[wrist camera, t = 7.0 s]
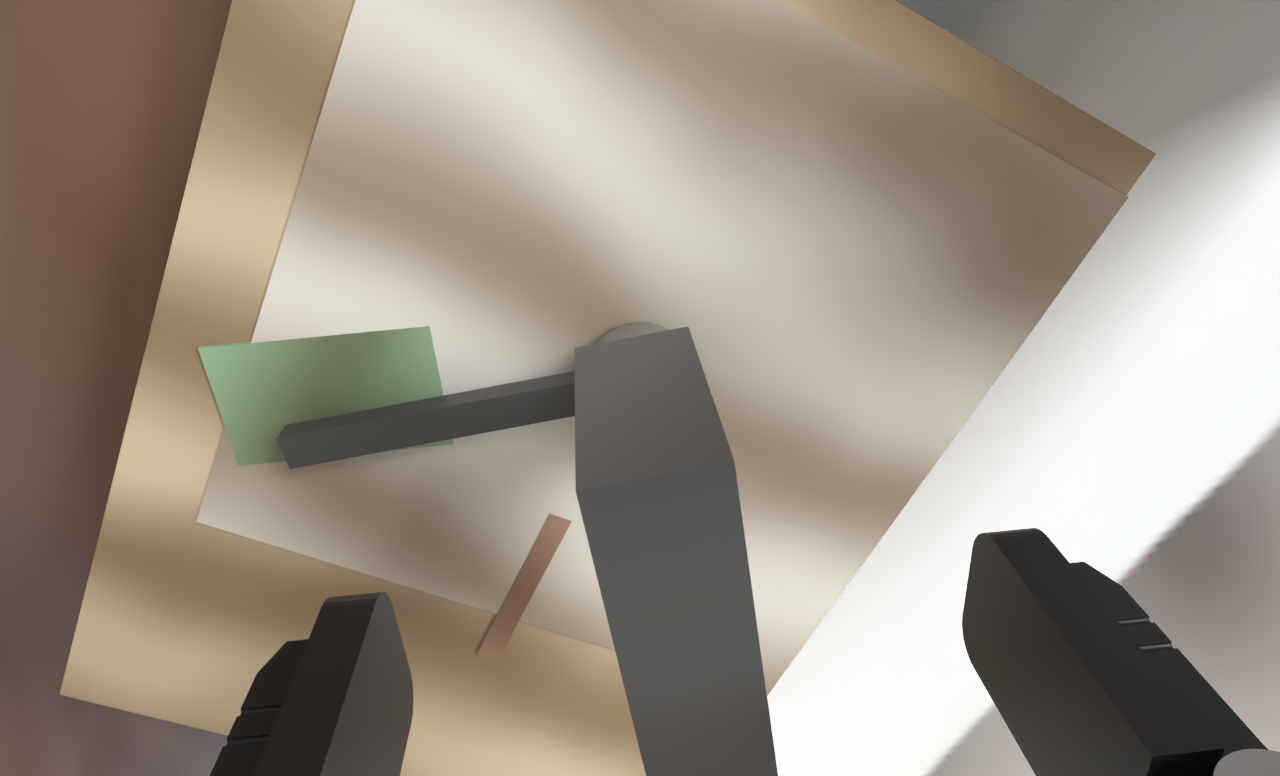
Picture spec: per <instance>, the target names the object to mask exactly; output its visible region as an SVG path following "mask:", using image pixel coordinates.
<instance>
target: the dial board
mask: <svg viewBox="0 0 1280 776" xmlns="http://www.w3.org/2000/svg"><path fill="white" fill-rule="evenodd" d="M1155 155H1156V154H1155V153H1153V152H1152V151H1150V150H1148V149H1147V148H1145V147H1143V146H1142V145H1140V144H1138V143H1136V142H1135V141H1133V140H1131V139H1130V138H1128V137H1126V136H1125V135H1123V134H1121V133H1120V132H1118V131H1116V130H1114V129H1113V128H1111V127H1109V126H1108V125H1106V124H1104V123H1103V122H1101V121H1099V120H1097V119H1096V118H1094V117H1092V116H1091V115H1089V114H1087V113H1086V112H1084V111H1082V110H1080V109H1079V108H1077V107H1075V106H1074V105H1072V104H1070V103H1069V102H1067V101H1065V100H1064V99H1062V98H1060V97H1058V96H1057V95H1055V94H1053V93H1052V92H1050V91H1048V90H1047V89H1045V88H1043V87H1041V86H1040V85H1038V84H1036V83H1035V82H1033V81H1031V80H1030V79H1028V78H1026V77H1025V76H1023V75H1021V74H1019V73H1018V72H1016V71H1014V70H1013V69H1011V68H1009V67H1008V66H1006V65H1004V64H1002V63H1001V62H999V61H997V60H996V59H994V58H992V57H991V56H989V55H987V54H985V53H984V52H982V51H980V50H979V49H977V48H975V47H974V46H972V45H970V44H969V43H967V42H965V41H963V40H962V39H960V38H958V37H957V36H955V35H953V34H952V33H950V32H948V31H946V30H945V29H943V28H941V27H940V26H938V25H936V24H935V23H933V22H931V21H929V20H928V19H926V18H924V17H923V16H921V15H919V14H918V13H916V12H914V11H913V10H911V9H909V8H907V7H906V6H904V5H902V4H901V3H899V2H897V1H896V0H232V3H231V7H230V11H229V15H228V19H227V23H226V27H225V31H224V36H223V40H222V44H221V48H220V52H219V56H218V60H217V64H216V68H215V72H214V76H213V80H212V84H211V88H210V92H209V96H208V100H207V104H206V108H205V112H204V116H203V120H202V124H201V128H200V132H199V136H198V140H197V144H196V148H195V152H194V156H193V160H192V164H191V168H190V172H189V176H188V180H187V184H186V188H185V192H184V196H183V200H182V204H181V208H180V212H179V216H178V220H177V224H176V228H175V232H174V236H173V240H172V245H171V249H170V253H169V257H168V261H167V265H166V269H165V273H164V277H163V281H162V285H161V289H160V293H159V297H158V301H157V305H156V309H155V313H154V317H153V321H152V325H151V329H150V333H149V337H148V341H147V345H146V349H145V353H144V357H143V361H142V365H141V369H140V373H139V377H138V381H137V385H136V389H135V393H134V397H133V401H132V405H131V409H130V413H129V417H128V421H127V425H126V429H125V433H124V437H123V441H122V445H121V449H120V454H119V458H118V462H117V466H116V470H115V474H114V478H113V482H112V486H111V490H110V494H109V498H108V502H107V506H106V510H105V514H104V518H103V522H102V526H101V530H100V534H99V538H98V542H97V546H96V550H95V554H94V558H93V562H92V566H91V570H90V574H89V578H88V582H87V586H86V590H85V594H84V598H83V602H82V606H81V610H80V614H79V618H78V622H77V626H76V630H75V634H74V638H73V642H72V646H71V650H70V654H69V658H68V663H67V667H66V671H65V675H64V679H63V683H62V687H61V691H60V695H63V696H67V697H71V698H75V699H79V700H84V701H88V702H92V703H96V704H100V705H104V706H108V707H112V708H116V709H120V710H125V711H129V712H133V713H137V714H141V715H145V716H149V717H153V718H157V719H161V720H165V721H170V722H174V723H178V724H182V725H186V726H190V727H194V728H198V729H202V730H206V731H210V732H215V733H219V734H223V735H227V736H228V735H229V733H230V731H231V729H232V726H233V724H234V722H235V720H236V718H237V716H240V715H241V707H242V705H243V702H244V700H245V698H246V696H247V694H248V692H249V689H250V687H251V685H252V683H253V681H254V678H255V676H256V674H257V673H258V672H259V671H260V669H261V668H262V667H263V666H264V665H265V664H266V663H267V662H268V661H269V660H270V659H271V658H272V657H273V656H274V655H275V653H276V652H277V651H278V650H279V649H280V648H281V647H282V646H283V645H284V644H285V643H286V642H287V641H295V640H305V639H309V636H310V634H311V631H312V629H313V626H314V624H315V621H316V619H317V617H318V614H319V612H320V609H321V607H322V605H323V603H324V601H325V600H326V599H327V598H329V597H337V596H347V595H357V594H367V593H377V592H386V593H387V594H388V596H389V597H390V599H391V602H392V605H393V609H394V612H395V616H396V620H397V623H398V627H399V631H400V634H401V638H402V642H403V645H404V649H405V653H406V656H407V660H408V664H409V667H410V671H411V675H412V682H413V699H414V701H413V716H412V722H411V727H410V731H409V736H408V740H407V745H406V750H405V754H404V759H403V763H402V768H401V772H400V776H646V773H645V769H644V765H643V761H642V757H641V753H640V749H639V745H638V741H637V737H636V733H635V729H634V725H633V721H632V717H631V713H630V709H629V705H628V701H627V697H626V693H625V688H624V684H623V680H622V676H621V672H620V668H619V664H618V660H617V656H616V652H615V648H614V644H613V640H612V636H611V632H610V628H609V624H608V620H607V616H606V612H605V608H604V604H603V600H602V596H601V592H600V587H599V583H598V579H597V575H596V571H595V567H594V563H593V559H592V555H591V551H590V547H589V543H588V539H587V535H586V531H585V527H584V523H583V519H582V515H581V511H580V507H579V503H578V499H577V495H576V478H575V416H573V417H567V418H562V419H556V420H551V421H546V422H540V423H535V424H530V425H524V426H519V427H514V428H508V429H503V430H498V431H492V432H487V433H481V434H476V435H471V436H465V437H460V438H455V439H449V440H444V441H439V442H433V443H428V444H422V445H417V446H412V447H406V448H401V449H396V450H390V451H385V452H380V453H374V454H369V455H363V456H358V457H353V458H347V459H342V460H337V461H331V462H326V463H321V464H315V465H310V466H304V467H299V468H294V469H289V466H288V464H287V462H286V459H285V457H284V455H283V452H282V450H281V448H280V446H279V443H278V441H277V439H276V438H277V437H278V435H279V434H280V432H281V431H282V429H283V428H284V426H285V425H288V424H294V423H299V422H305V421H310V420H315V419H321V418H326V417H331V416H337V415H342V414H347V413H353V412H358V411H363V410H369V409H374V408H379V407H385V406H390V405H395V404H401V403H406V402H412V401H417V400H422V399H428V398H433V397H438V396H444V395H449V394H454V393H460V392H465V391H470V390H476V389H481V388H486V387H492V386H497V385H502V384H508V383H513V382H518V381H524V380H529V379H535V378H540V377H545V376H551V375H556V374H561V373H567V372H572V371H575V360H574V348H576V347H581V346H586V345H592V344H597V342H598V341H599V340H600V339H601V338H602V337H603V336H604V335H605V334H607V333H608V332H610V331H611V330H613V329H615V328H617V327H619V326H622V325H625V324H629V323H636V322H647V323H653V324H657V325H660V326H663V327H665V328H667V329H669V330H672V329H677V328H683V327H689V330H690V333H691V336H692V339H693V342H694V345H695V348H696V351H697V353H698V356H699V359H700V362H701V365H702V368H703V371H704V374H705V377H706V380H707V383H708V386H709V388H710V391H711V394H712V397H713V400H714V403H715V406H716V409H717V412H718V415H719V418H720V421H721V424H722V426H723V429H724V432H725V435H726V438H727V441H728V444H729V447H730V450H731V453H732V456H733V459H734V462H735V469H736V476H737V483H738V491H739V498H740V505H741V512H742V520H743V527H744V534H745V541H746V549H747V556H748V563H749V571H750V578H751V585H752V592H753V600H754V607H755V614H756V621H757V629H758V636H759V643H760V651H761V658H762V665H763V672H764V680H765V687H766V694H767V695H768V694H769V693H770V691H771V690H772V688H773V687H774V686H775V684H776V683H777V681H778V680H779V679H780V677H781V676H782V675H783V673H784V672H785V670H786V669H787V668H788V666H789V665H790V664H791V662H792V661H793V659H794V658H795V657H796V655H797V654H798V652H799V651H800V650H801V648H802V647H803V646H804V644H805V643H806V641H807V640H808V639H809V637H810V636H811V635H812V633H813V632H814V630H815V629H816V628H817V626H818V625H819V623H820V622H821V621H822V619H823V618H824V617H825V615H826V614H827V612H828V611H829V610H830V608H831V607H832V606H833V604H834V603H835V601H836V600H837V599H838V597H839V596H840V595H841V593H842V592H843V590H844V589H845V588H846V586H847V585H848V583H849V582H850V581H851V579H852V578H853V577H854V575H855V574H856V572H857V571H858V570H859V568H860V567H861V566H862V564H863V563H864V561H865V560H866V559H867V557H868V556H869V554H870V553H871V552H872V550H873V549H874V548H875V546H876V545H877V543H878V542H879V541H880V539H881V538H882V537H883V535H884V534H885V532H886V531H887V530H888V528H889V527H890V525H891V524H892V523H893V521H894V520H895V519H896V517H897V516H898V514H899V513H900V512H901V510H902V509H903V508H904V506H905V505H906V503H907V502H908V501H909V499H910V498H911V496H912V495H913V494H914V492H915V491H916V490H917V488H918V487H919V485H920V484H921V483H922V481H923V480H924V479H925V477H926V476H927V474H928V473H929V472H930V470H931V469H932V467H933V466H934V465H935V463H936V462H937V461H938V459H939V458H940V456H941V455H942V454H943V452H944V451H945V450H946V448H947V447H948V445H949V444H950V443H951V441H952V440H953V438H954V437H955V436H956V434H957V433H958V432H959V430H960V429H961V427H962V426H963V425H964V423H965V422H966V421H967V419H968V418H969V416H970V415H971V414H972V412H973V411H974V409H975V408H976V407H977V405H978V404H979V403H980V401H981V400H982V398H983V397H984V396H985V394H986V393H987V392H988V390H989V389H990V387H991V386H992V385H993V383H994V382H995V381H996V379H997V378H998V376H999V375H1000V374H1001V372H1002V371H1003V369H1004V368H1005V367H1006V365H1007V364H1008V363H1009V361H1010V360H1011V358H1012V357H1013V356H1014V354H1015V353H1016V352H1017V350H1018V349H1019V347H1020V346H1021V345H1022V343H1023V342H1024V340H1025V339H1026V338H1027V336H1028V335H1029V334H1030V332H1031V331H1032V329H1033V328H1034V327H1035V325H1036V324H1037V323H1038V321H1039V320H1040V318H1041V317H1042V316H1043V314H1044V313H1045V311H1046V310H1047V309H1048V307H1049V306H1050V305H1051V303H1052V302H1053V300H1054V299H1055V298H1056V296H1057V295H1058V294H1059V292H1060V291H1061V289H1062V288H1063V287H1064V285H1065V284H1066V282H1067V281H1068V280H1069V278H1070V277H1071V276H1072V274H1073V273H1074V271H1075V270H1076V269H1077V267H1078V266H1079V265H1080V263H1081V262H1082V260H1083V259H1084V258H1085V256H1086V255H1087V253H1088V252H1089V251H1090V249H1091V248H1092V247H1093V245H1094V244H1095V242H1096V241H1097V240H1098V238H1099V237H1100V236H1101V234H1102V233H1103V231H1104V230H1105V229H1106V227H1107V226H1108V224H1109V223H1110V222H1111V220H1112V219H1113V218H1114V216H1115V215H1116V213H1117V212H1118V211H1119V209H1120V208H1121V207H1122V205H1123V204H1124V202H1125V201H1126V200H1127V198H1128V197H1126V195H1127V193H1128V192H1129V191H1130V189H1131V188H1132V186H1133V185H1134V184H1135V182H1136V181H1137V179H1138V178H1139V177H1140V175H1141V174H1142V173H1143V171H1144V170H1145V168H1146V167H1147V166H1148V164H1149V163H1150V161H1151V160H1152V159H1153V157H1154V156H1155Z"/></svg>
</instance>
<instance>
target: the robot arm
mask: <svg viewBox="0 0 1280 776" xmlns="http://www.w3.org/2000/svg"><path fill="white" fill-rule="evenodd" d="M962 626H963V636H964V641H965V645H966V649H967V652H968V655H969V658H970V660H971V663H972V664H973V666H974V668H975V670H976V672H977V674H978V675H979V677H980V679H981V680H982V682H983V684H984V686H985V687H986V689H987V691H988V693H989V694H990V696H991V698H992V700H993V701H994V703H995V705H996V707H997V708H998V710H999V712H1000V714H1001V715H1002V717H1003V719H1004V721H1005V722H1006V724H1007V726H1008V728H1009V729H1010V731H1011V733H1012V735H1013V736H1014V738H1015V740H1016V742H1017V743H1018V745H1019V747H1020V748H1021V750H1022V752H1023V754H1024V756H1025V757H1026V759H1027V761H1028V763H1029V764H1030V766H1031V768H1032V770H1033V771H1034V773H1035V775H1036V776H1280V752H1277V751H1272V750H1268V749H1267V748H1266V747H1265V746H1264V745H1263V744H1262V743H1261V742H1260V741H1259V739H1258V738H1257V737H1256V736H1255V735H1254V734H1253V733H1252V732H1251V730H1250V729H1249V728H1248V727H1247V726H1246V725H1245V724H1244V723H1243V721H1242V720H1241V719H1240V718H1239V717H1238V716H1237V715H1236V714H1235V713H1234V712H1233V710H1232V709H1231V708H1230V707H1229V706H1228V705H1227V704H1226V702H1225V701H1224V700H1223V699H1222V698H1221V697H1220V696H1219V695H1218V693H1217V692H1216V691H1215V690H1214V689H1213V688H1212V687H1211V686H1210V684H1209V683H1208V682H1207V681H1206V680H1205V679H1204V678H1203V677H1202V676H1201V674H1200V673H1199V672H1198V671H1197V670H1196V669H1195V668H1194V667H1193V665H1192V664H1191V663H1190V662H1189V661H1188V660H1187V659H1186V658H1185V657H1184V655H1183V654H1182V653H1181V652H1180V651H1179V650H1178V649H1174V648H1173V647H1172V644H1171V641H1170V640H1169V638H1168V637H1167V636H1166V635H1165V634H1164V633H1163V632H1162V631H1161V630H1160V629H1159V627H1158V626H1157V625H1156V624H1155V623H1151V622H1150V621H1149V616H1148V615H1147V614H1146V613H1145V612H1144V610H1143V609H1142V608H1141V607H1140V606H1139V605H1138V604H1137V603H1136V602H1135V600H1134V599H1133V598H1132V597H1131V596H1130V595H1129V594H1128V592H1127V591H1126V590H1125V589H1124V588H1123V587H1122V586H1121V585H1119V584H1118V583H1116V582H1114V581H1113V580H1111V579H1110V578H1108V577H1107V576H1105V575H1103V574H1102V573H1100V572H1099V571H1097V570H1096V569H1094V568H1092V567H1091V566H1089V565H1088V564H1086V563H1085V562H1079V563H1069V562H1068V561H1067V560H1066V559H1065V557H1064V556H1063V555H1062V554H1061V553H1060V551H1059V550H1058V549H1057V548H1056V547H1055V545H1054V544H1053V543H1052V542H1051V541H1050V539H1049V538H1048V537H1047V536H1046V535H1045V534H1044V533H1043V532H1042V531H1040V530H1039V529H1036V528H1030V529H1021V530H1011V531H1001V532H991V533H982V534H979V535H978V536H977V537H976V539H975V541H974V544H973V550H972V557H971V563H970V570H969V577H968V584H967V591H966V598H965V604H964V611H963V620H962ZM413 701H414V699H413V682H412V675H411V671H410V667H409V664H408V660H407V656H406V653H405V649H404V645H403V642H402V638H401V634H400V631H399V627H398V623H397V620H396V616H395V612H394V609H393V605H392V602H391V599H390V597H389V596H388V594H387V593H386V592H377V593H367V594H357V595H347V596H337V597H329V598H327V599H326V600H325V601H324V603H323V605H322V607H321V609H320V612H319V614H318V617H317V619H316V621H315V624H314V626H313V629H312V631H311V634H310V636H309V639H305V640H295V641H287V642H286V643H285V644H284V645H283V646H282V647H281V648H280V649H279V650H278V651H277V652H276V653H275V655H274V656H273V657H272V658H271V659H270V660H269V661H268V662H267V663H266V664H265V665H264V666H263V667H262V668H261V669H260V671H259V672H258V673H257V674H256V676H255V678H254V681H253V683H252V685H251V687H250V689H249V692H248V694H247V696H246V698H245V700H244V702H243V705H242V707H241V715H240V716H237V718H236V720H235V722H234V724H233V726H232V729H231V731H230V733H229V735H228V737H227V746H223V748H222V750H221V753H220V755H219V757H218V759H217V761H216V763H215V766H214V768H213V770H212V772H211V774H210V776H400V772H401V768H402V763H403V759H404V754H405V750H406V745H407V740H408V736H409V731H410V727H411V722H412V716H413Z"/></svg>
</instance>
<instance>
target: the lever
mask: <svg viewBox="0 0 1280 776" xmlns="http://www.w3.org/2000/svg"><path fill="white" fill-rule="evenodd" d="M574 360H575V371H572V372H567V373H561V374H556V375H551V376H545V377H540V378H535V379H529V380H524V381H518V382H513V383H508V384H502V385H497V386H492V387H486V388H481V389H476V390H470V391H465V392H460V393H454V394H449V395H444V396H438V397H433V398H428V399H422V400H417V401H412V402H406V403H401V404H395V405H390V406H385V407H379V408H374V409H369V410H363V411H358V412H353V413H347V414H342V415H337V416H331V417H326V418H321V419H315V420H310V421H305V422H299V423H294V424H288V425H285V426H284V428H283V429H282V431H281V432H280V434H279V435H278V437H277V438H276V439H277V441H278V443H279V446H280V448H281V450H282V452H283V455H284V457H285V459H286V462H287V464H288V466H289V469H294V468H299V467H304V466H310V465H315V464H321V463H326V462H331V461H337V460H342V459H347V458H353V457H358V456H363V455H369V454H374V453H380V452H385V451H390V450H396V449H401V448H406V447H412V446H417V445H422V444H428V443H433V442H439V441H444V440H449V439H455V438H460V437H465V436H471V435H476V434H481V433H487V432H492V431H498V430H503V429H508V428H514V427H519V426H524V425H530V424H535V423H540V422H546V421H551V420H556V419H562V418H567V417H573V416H575V478H576V495H577V499H578V503H579V507H580V511H581V515H582V519H583V523H584V527H585V531H586V535H587V539H588V543H589V547H590V551H591V555H592V559H593V563H594V567H595V571H596V575H597V579H598V583H599V587H600V592H601V596H602V600H603V604H604V608H605V612H606V616H607V620H608V624H609V628H610V632H611V636H612V640H613V644H614V648H615V652H616V656H617V660H618V664H619V668H620V672H621V676H622V680H623V684H624V688H625V693H626V697H627V701H628V705H629V709H630V713H631V717H632V721H633V725H634V729H635V733H636V737H637V741H638V745H639V749H640V753H641V757H642V761H643V765H644V769H645V773H646V776H778V774H777V767H776V760H775V752H774V745H773V738H772V731H771V723H770V716H769V709H768V701H767V694H766V687H765V680H764V672H763V665H762V658H761V651H760V643H759V636H758V629H757V621H756V614H755V607H754V600H753V592H752V585H751V578H750V571H749V563H748V556H747V549H746V541H745V534H744V527H743V520H742V512H741V505H740V498H739V491H738V483H737V476H736V469H735V462H734V459H733V456H732V453H731V450H730V447H729V444H728V441H727V438H726V435H725V432H724V429H723V426H722V424H721V421H720V418H719V415H718V412H717V409H716V406H715V403H714V400H713V397H712V394H711V391H710V388H709V386H708V383H707V380H706V377H705V374H704V371H703V368H702V365H701V362H700V359H699V356H698V353H697V351H696V348H695V345H694V342H693V339H692V336H691V333H690V330H689V327H683V328H677V329H672V330H669V329H667V328H665V327H663V326H660V325H657V324H653V323H647V322H636V323H629V324H625V325H622V326H619V327H617V328H615V329H613V330H611V331H610V332H608V333H607V334H605V335H604V336H603V337H602V338H601V339H600V340H599V341H598V342H597V344H592V345H586V346H581V347H576V348H574Z"/></svg>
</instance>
